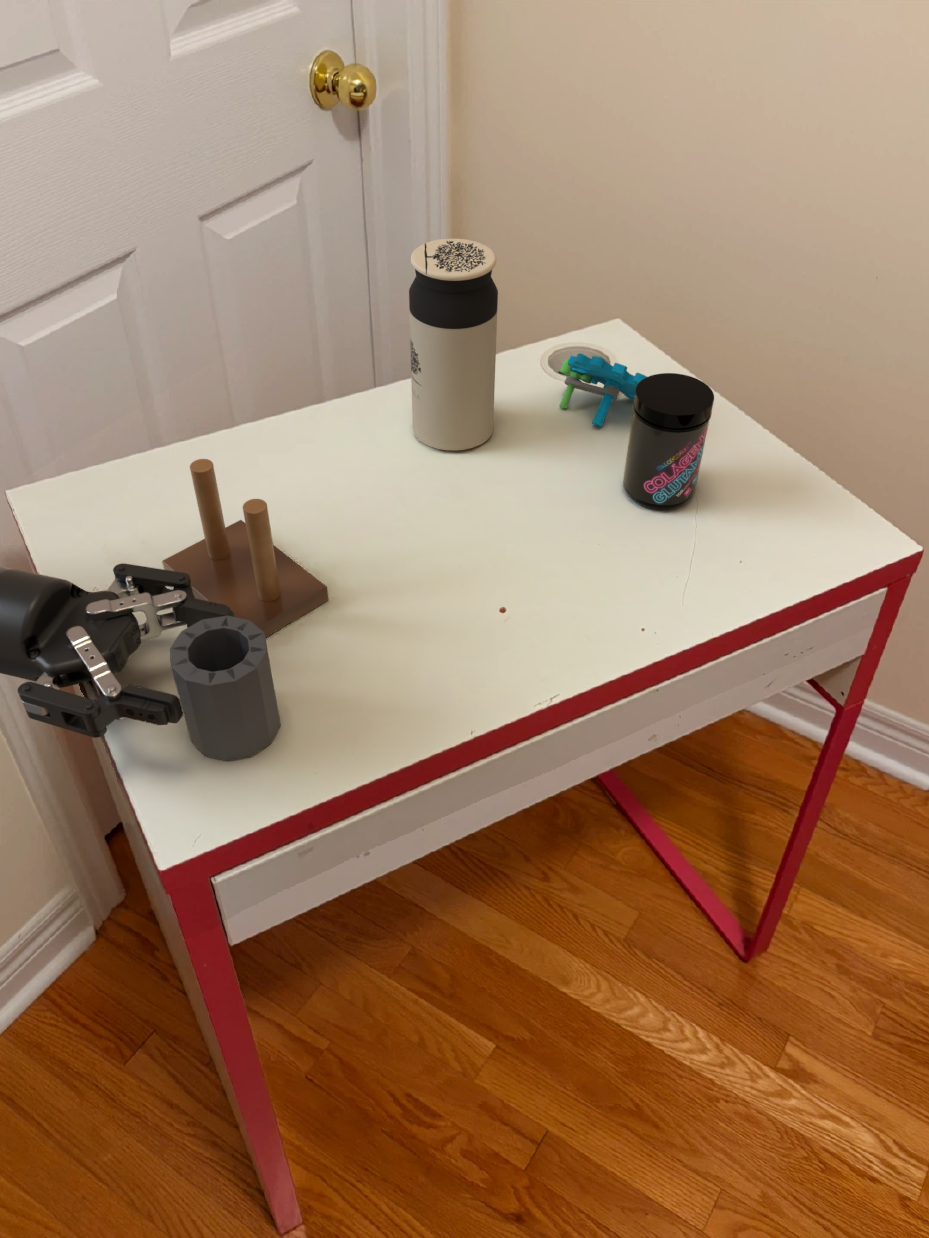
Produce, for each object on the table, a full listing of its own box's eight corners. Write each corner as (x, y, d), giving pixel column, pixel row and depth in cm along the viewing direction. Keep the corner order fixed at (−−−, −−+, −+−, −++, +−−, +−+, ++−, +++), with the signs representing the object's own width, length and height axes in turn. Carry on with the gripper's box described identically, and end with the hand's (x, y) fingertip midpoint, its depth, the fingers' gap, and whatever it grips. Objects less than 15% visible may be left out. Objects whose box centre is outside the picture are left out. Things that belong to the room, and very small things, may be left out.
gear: (681, 398, 105) (644, 361, 97) (658, 453, 106) (619, 420, 97) (590, 374, 111) (547, 337, 103) (568, 426, 112) (524, 393, 103)
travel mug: (496, 410, 107) (502, 239, 94) (489, 456, 101) (495, 279, 88) (418, 405, 107) (414, 234, 95) (407, 450, 101) (401, 274, 89)
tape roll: (257, 768, 74) (242, 692, 68) (174, 748, 75) (152, 672, 69) (293, 703, 78) (281, 626, 72) (214, 685, 79) (196, 608, 74)
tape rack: (329, 600, 86) (318, 498, 79) (249, 648, 82) (229, 545, 75) (243, 532, 92) (225, 432, 85) (164, 574, 88) (139, 472, 81)
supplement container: (623, 512, 95) (637, 413, 88) (619, 467, 100) (633, 371, 92) (698, 515, 95) (719, 417, 87) (690, 471, 100) (710, 374, 92)
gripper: (-79, 651, 68) (147, 704, 65) (41, 519, 78) (243, 559, 75) (-42, 726, 73) (170, 778, 70) (67, 593, 83) (256, 633, 80)
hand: (207, 665), depth 72 cm, fingers open, 8 cm apart
